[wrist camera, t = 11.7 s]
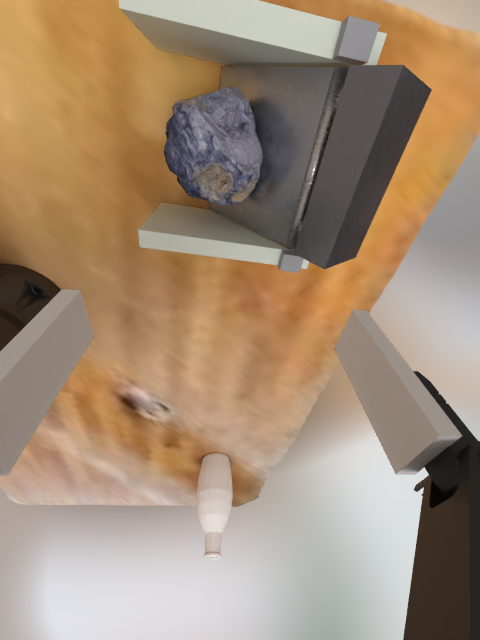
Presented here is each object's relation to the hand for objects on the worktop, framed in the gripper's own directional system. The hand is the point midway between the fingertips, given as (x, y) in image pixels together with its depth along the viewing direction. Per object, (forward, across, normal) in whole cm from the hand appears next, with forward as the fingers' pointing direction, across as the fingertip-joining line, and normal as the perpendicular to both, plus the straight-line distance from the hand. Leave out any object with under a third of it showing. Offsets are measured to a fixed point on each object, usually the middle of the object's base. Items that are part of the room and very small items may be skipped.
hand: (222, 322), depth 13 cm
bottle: (+31, +4, -84) cm, 90 cm away
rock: (+27, +2, +5) cm, 27 cm away
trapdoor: (+26, +9, +5) cm, 28 cm away
